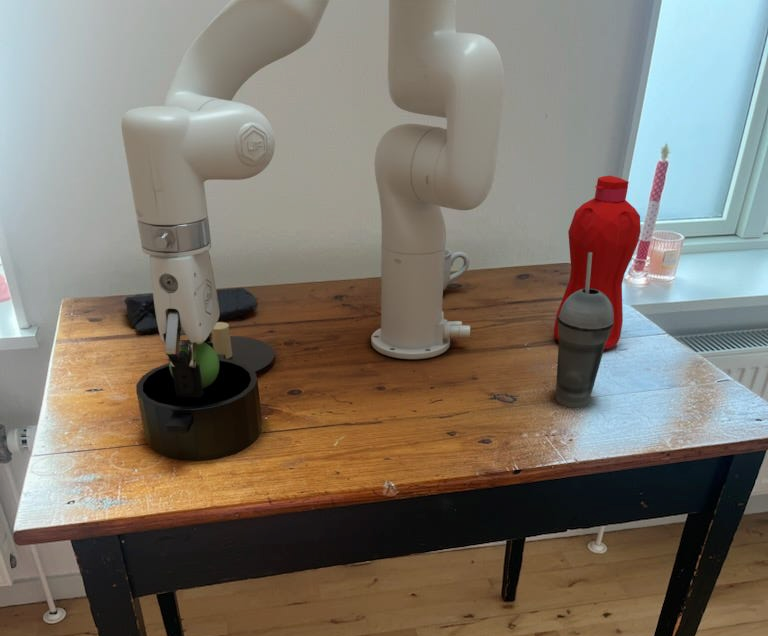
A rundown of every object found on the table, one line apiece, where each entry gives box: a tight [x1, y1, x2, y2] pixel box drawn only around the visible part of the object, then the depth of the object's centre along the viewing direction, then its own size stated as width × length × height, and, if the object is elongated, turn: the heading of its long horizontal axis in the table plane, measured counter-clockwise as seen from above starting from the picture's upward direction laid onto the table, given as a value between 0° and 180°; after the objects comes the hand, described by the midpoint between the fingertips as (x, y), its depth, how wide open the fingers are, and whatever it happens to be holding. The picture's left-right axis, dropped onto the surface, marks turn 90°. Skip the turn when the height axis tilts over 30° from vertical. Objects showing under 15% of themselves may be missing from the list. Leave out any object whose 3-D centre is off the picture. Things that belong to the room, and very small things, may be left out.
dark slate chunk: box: [124, 287, 258, 334], centre depth 129 cm, size 15×22×5 cm
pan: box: [135, 354, 263, 462], centre depth 95 cm, size 15×20×7 cm
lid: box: [208, 321, 276, 376], centre depth 112 cm, size 16×16×6 cm
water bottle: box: [553, 174, 642, 350], centre depth 115 cm, size 9×11×25 cm
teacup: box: [443, 247, 470, 291], centre depth 138 cm, size 14×11×8 cm
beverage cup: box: [555, 252, 614, 408], centre depth 99 cm, size 7×7×20 cm
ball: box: [168, 342, 219, 388], centre depth 92 cm, size 6×6×6 cm
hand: (196, 382), depth 93 cm, fingers closed on ball, 5 cm apart
